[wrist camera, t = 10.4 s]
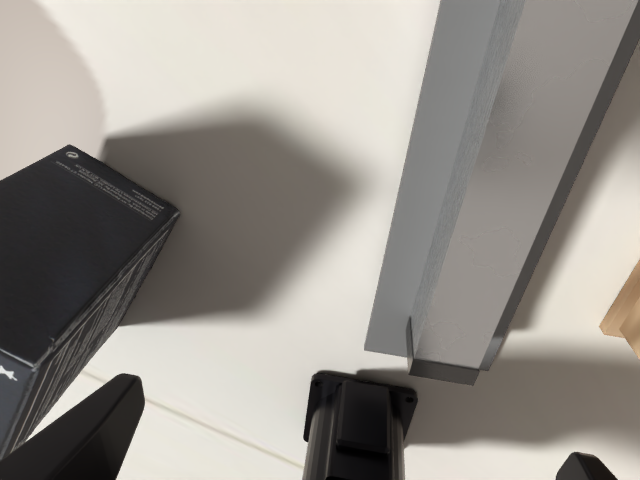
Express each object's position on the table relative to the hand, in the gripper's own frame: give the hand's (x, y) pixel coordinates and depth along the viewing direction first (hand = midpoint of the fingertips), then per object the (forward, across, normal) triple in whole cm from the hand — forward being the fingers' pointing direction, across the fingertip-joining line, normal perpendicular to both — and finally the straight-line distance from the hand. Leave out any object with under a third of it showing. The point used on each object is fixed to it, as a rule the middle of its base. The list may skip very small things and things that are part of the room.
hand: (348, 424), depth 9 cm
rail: (+12, -5, -3) cm, 13 cm away
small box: (+13, +14, +6) cm, 20 cm away
